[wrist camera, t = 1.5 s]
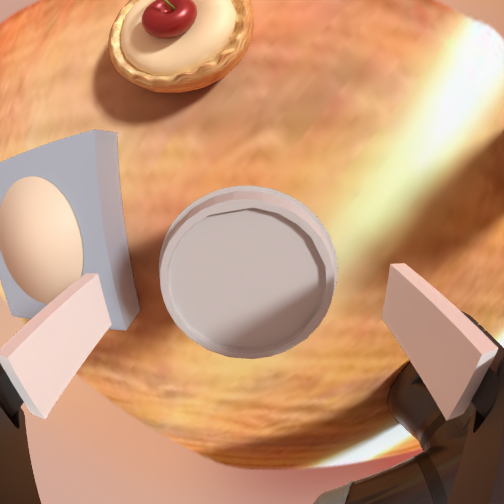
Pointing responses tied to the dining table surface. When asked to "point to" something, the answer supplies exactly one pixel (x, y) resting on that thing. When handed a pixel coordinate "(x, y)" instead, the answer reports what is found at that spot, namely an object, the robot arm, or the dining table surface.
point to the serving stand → (65, 225)
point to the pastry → (179, 42)
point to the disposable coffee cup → (247, 271)
